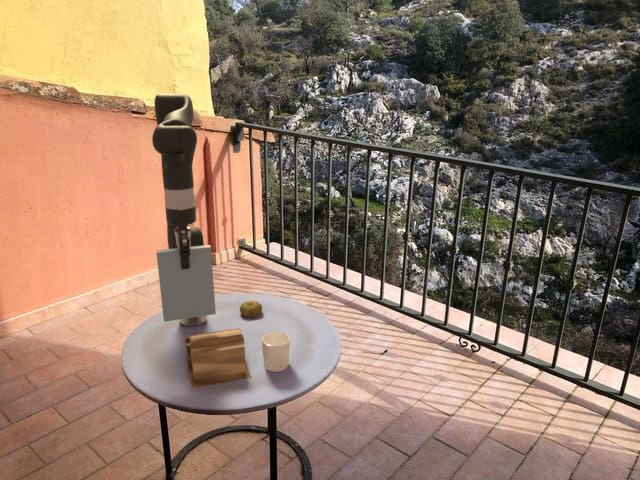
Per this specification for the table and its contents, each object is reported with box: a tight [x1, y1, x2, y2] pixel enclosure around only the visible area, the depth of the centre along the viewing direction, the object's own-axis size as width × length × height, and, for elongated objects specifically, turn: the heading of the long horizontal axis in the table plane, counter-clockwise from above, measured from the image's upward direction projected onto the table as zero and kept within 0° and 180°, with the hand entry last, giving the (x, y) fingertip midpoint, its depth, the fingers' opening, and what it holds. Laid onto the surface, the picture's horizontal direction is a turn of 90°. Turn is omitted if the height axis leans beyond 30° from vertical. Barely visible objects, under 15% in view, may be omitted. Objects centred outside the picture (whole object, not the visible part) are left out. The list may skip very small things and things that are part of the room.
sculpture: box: [239, 300, 263, 318], centre depth 171 cm, size 8×4×8 cm
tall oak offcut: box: [190, 328, 243, 370], centre depth 135 cm, size 3×14×10 cm, turn 109°
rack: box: [184, 327, 252, 389], centre depth 135 cm, size 16×16×8 cm
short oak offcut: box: [191, 341, 246, 381], centre depth 132 cm, size 3×14×8 cm, turn 109°
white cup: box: [261, 331, 291, 373], centre depth 136 cm, size 8×8×10 cm
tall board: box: [155, 244, 217, 323], centre depth 131 cm, size 2×14×20 cm, turn 110°
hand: (185, 266), depth 129 cm, fingers closed on tall board, 2 cm apart
